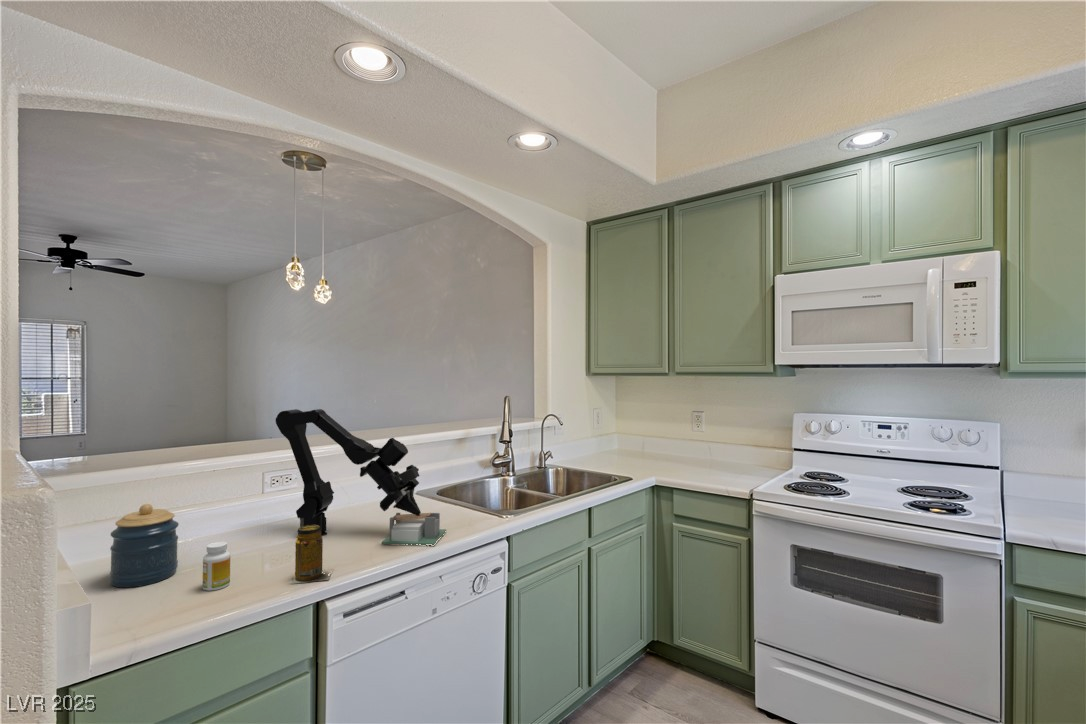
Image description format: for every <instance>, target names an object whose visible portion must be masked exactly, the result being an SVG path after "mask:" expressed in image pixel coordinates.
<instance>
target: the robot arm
mask: <svg viewBox="0 0 1086 724" xmlns="http://www.w3.org/2000/svg"><path fill="white" fill-rule="evenodd" d="M275 424H276V427H277V428H278V430H279V432H280V434H282V435H283V437H284V438H285V439H286V440H288V442H289V446H290V448H291V452H292V454H293V457H294V459H295V462H296V466H297V468H298V470H299V473H300V476H301V479H302V482H303V491H302V499H303V503H302V505H301V506H300V507H299V508H297V509H296V511H295V513H296V516H297V519H299V528H300V527H303V526H307V525H318V526H321V536H325V535H327V534H328V532H327V517H326V515H325V514H326V513H325V512H327V511H328V508H329V506H331V504H332V503H333V500H334V494H335V492H334V490H333V489H332V485H331V482H330V481H329V480H328V481H326V482H325V481H324V480H323V479H322V478H321V476H320V473H319V470H318V467H317V464H316V462H315V459H314V455H313V453H312V449H311V448H310V444H309V441H308V439H307V435H306V433H307V426H308V425H307V424H313V425H315V427H317V428H318V429H319V430H321V431H322V432H323V433H324V434H325V435H327V437H329V438H330V439H332V440H333V441H334V442H335V443H336V444H338V445H339V446H340V447H341V448H342V450H343V453H344V454H345V456H346V457H347V458H348V459H349V461H351V463H352V464H354V465H356V466H359V465H360V466H361V465H363V464H366V463H367V464H366V465H365V466H361V467H360V468H359V470H360V472H359V477H360V478H362V477H364V476H366V475H368V476H369V477H370V478H371V480H373V481H374V483H376V484H377V487H376V488H377V489H378V490H382V491H383V492H384V493H385V494H386V495H385V497H384V498H383V499H382V500H380V502H379V508H380V509H381V510H382V511H383V512H386V511H387V510H388V509H389V508H390V506H391V505H393V504H394V503H395V504H394V505H393V506H392V508H393V509H395V508H396V509H398V510H402V511H404V512H406V513H409V514H415V515H419V514H420V513H422V512H421V510H420V507H419V506H418V503H417V502H416V499H415V497H414V493H415V488H416V487H417V486H418V485H419V484H420V482H419V481H418V480H417V478H418V477H420V473H419V468H418V467H417V466H414V465H413V464H410V465H408V466H406V468H405V469H406V470H405V471H403V472H401V473H400V472H399V471H397V470H395V471H394V470H392V469H391V467H390V466H392V467H395V466H396V465H397V464H399V462H401V460H403V459H404V458H405V457H406V455H407V454H408V453H409V450H408V448H407V447H406V445H405V444H404V443H402V442H401V441H399V440H397V439H395V437H390V438H389V439H388V440H387V442H386V443H384V445H383V446H382V447H377V446H374V445H373V444H371V443H370V442H369V441H366V440H364V439H363V438H360V437H358V436H357V437H356V436H355V435H353V434H352V433H351V432H349V431H348V430H347V429H346V428H344V427H343V426H342V425H341V423H338V422H337V421H336V420H335V419H333V417H331V416H330V415H328V413H327V412H326V410H324V409H321V408H319V409H318V408H317V409H312V410H307V411H303V410H301V409H297V408H295V409H289V410H282V411H279V413H278V414H277V415H276V417H275ZM375 458H376V460H373V459H375ZM368 462H369V463H368Z"/></svg>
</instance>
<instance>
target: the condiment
mask: <svg viewBox="0 0 1086 724" xmlns="http://www.w3.org/2000/svg"><path fill="white" fill-rule="evenodd" d="M296 532H297V536H296V538H297V539H296V541H295V555H294V556H295V561H294V562H295V565H294V567H295V568H294V577H293V578H292V579H291V581H290V583H289V584H290V585H291V584H292V585H293V584H305V583H311V582H320V581H321V582H322V581H328V580H330V578H331V576H330V577H329V576H328V574H329V573H331V571H332V572H333V571H334V568H325V569H323V560H324V559H323V549H324V548H323V547H324V543H323V539H324V538H323V537H322V535H321V526H318V525H307V526H303V527H300V526H299V528H298V529H297V531H296ZM322 572H323V573H322ZM324 573H325V574H324Z"/></svg>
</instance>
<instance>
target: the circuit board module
mask: <svg viewBox="0 0 1086 724" xmlns="http://www.w3.org/2000/svg"><path fill="white" fill-rule="evenodd" d="M431 513H432V516H431V517H425V519H407V520H394V516H391V517H390V518H389V535H388V536H387V537H385V538H384V539H383V540H382V541H381V544H405V545H406V544H408V545H411V544H412V545H416V544H418V545H419V544H421V545H426V544H432V545H434V544H435V543H436V541H437V540H438V539H439V538H440V537H441V536H442V535H443V534H444V533H445V531H446V532H447V529H445V528H444V529H443V528H441V527H440V524H441V523H440V522H441V521H440V520H441V519H440V515H441V513H440V512H431ZM396 514H398V515H401V512H396V513H395V515H396ZM445 534H446V533H445ZM445 534H444V535H445ZM444 535H443V536H444ZM443 536H442V537H443ZM436 544H437V543H436ZM405 545H404V546H405Z"/></svg>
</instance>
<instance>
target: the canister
mask: <svg viewBox="0 0 1086 724" xmlns="http://www.w3.org/2000/svg"><path fill="white" fill-rule="evenodd" d="M174 517H175V513H173V512H171V511H169V510H167V509H164V508H162V509H161V508H160V509H159V508H154V507H153V505H152V504H150V503H145V504H142V505H141V506H140V507H139V509H138V511H134V512H131V513H127V514H125V515H124V516H123V517H121V518H120V519H118V520H117V521H115V526H116V528H115V529H114V530H112V531H111V532H110V536H111V538H113V542H112V545H111V546H110V572H109V580H110V585H112V586H113V587H116V588H133V587H135V588H136V587H143V586H149V585H151V584H154V583H158V582H161V581H164V580H166V579H169V578H171V577H172V576H174V574H176V573H177V571H178V570H177V569H178V565H179V564H178V563H179V561H178V540H179V535H178V534H177V528H178V527H179V524H180V523H179V522H178V521H176V520H175V519H173V518H174Z"/></svg>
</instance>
